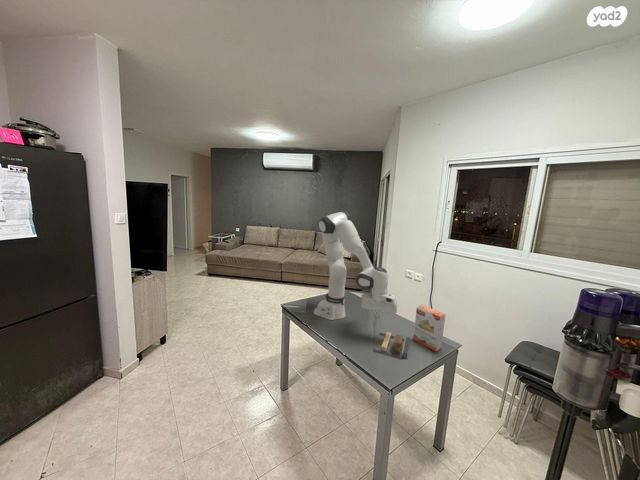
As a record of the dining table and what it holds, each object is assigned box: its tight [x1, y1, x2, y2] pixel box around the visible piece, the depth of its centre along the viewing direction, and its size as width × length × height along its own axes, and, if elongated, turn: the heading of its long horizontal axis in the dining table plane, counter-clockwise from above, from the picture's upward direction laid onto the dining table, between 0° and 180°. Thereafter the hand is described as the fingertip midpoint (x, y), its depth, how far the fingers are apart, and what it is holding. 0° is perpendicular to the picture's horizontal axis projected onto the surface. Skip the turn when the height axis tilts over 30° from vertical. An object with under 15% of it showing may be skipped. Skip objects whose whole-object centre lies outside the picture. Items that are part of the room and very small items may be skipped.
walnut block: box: [391, 333, 403, 356], centre depth 133 cm, size 4×8×6 cm, turn 155°
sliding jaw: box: [380, 331, 392, 352], centre depth 138 cm, size 3×16×3 cm, turn 156°
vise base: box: [372, 332, 411, 360], centre depth 136 cm, size 17×19×3 cm
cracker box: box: [413, 304, 446, 352], centre depth 137 cm, size 14×6×21 cm, turn 36°
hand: (378, 317), depth 144 cm, fingers closed
